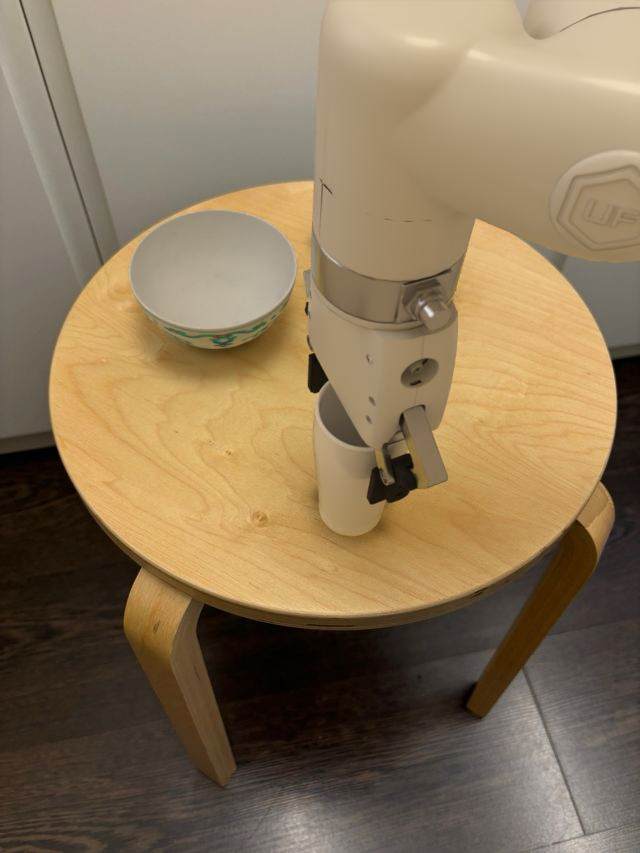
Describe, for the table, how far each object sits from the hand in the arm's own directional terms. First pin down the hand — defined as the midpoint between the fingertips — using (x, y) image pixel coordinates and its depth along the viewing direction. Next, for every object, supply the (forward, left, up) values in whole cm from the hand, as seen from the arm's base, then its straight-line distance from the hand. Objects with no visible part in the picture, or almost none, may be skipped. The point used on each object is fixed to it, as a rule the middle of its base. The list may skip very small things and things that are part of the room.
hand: (357, 436), depth 49 cm
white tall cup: (0, 0, -12) cm, 12 cm away
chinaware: (+3, -23, -12) cm, 26 cm away
